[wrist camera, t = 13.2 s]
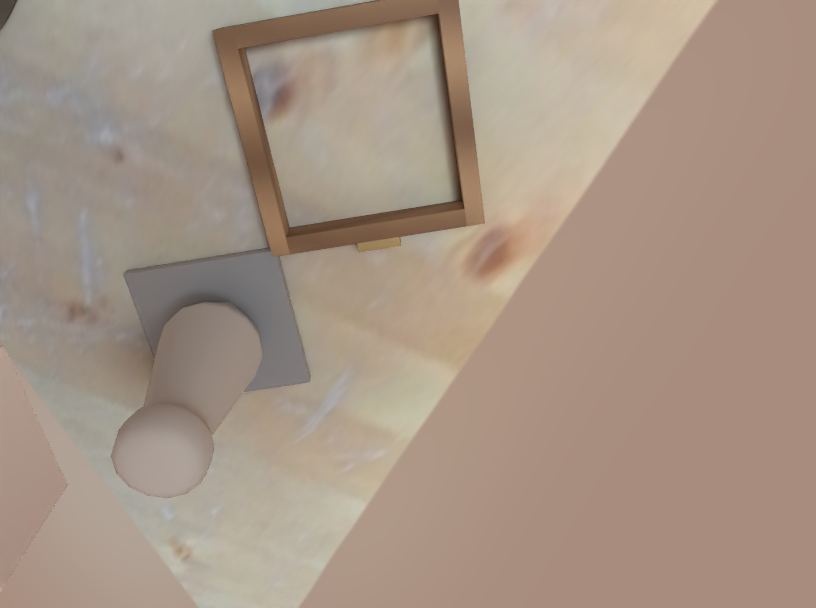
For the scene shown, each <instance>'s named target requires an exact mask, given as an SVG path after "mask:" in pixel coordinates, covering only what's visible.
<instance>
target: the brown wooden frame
mask: <svg viewBox="0 0 816 608" xmlns="http://www.w3.org/2000/svg"><path fill="white" fill-rule="evenodd" d="M434 14H438V21H439V29H440V36H441V44H442V51H443V59H444V67H445V74H446V82H447V89H448V97H449V105H450V112H451V120H452V127H453V135H454V143H455V150H456V158H457V165H458V173H459V181H460V188H461V196H462V200H460V201H454V202H448V203H441V204H435V205H429V206H423V207H416V208H410V209H404V210H398V211H392V212H385V213H379V214H373V215H367V216H360V217H354V218H348V219H342V220H336V221H329V222H323V223H317V224H311V225H304V226H298V227H292V228H289V224H288V220H287V216H286V212H285V208H284V204H283V200H282V196H281V192H280V188H279V184H278V180H277V176H276V172H275V167H274V163H273V159H272V155H271V151H270V147H269V143H268V139H267V135H266V131H265V127H264V123H263V119H262V115H261V111H260V107H259V103H258V99H257V95H256V91H255V87H254V83H253V79H252V75H251V71H250V67H249V63H248V59H247V55H246V51H245V47H251V46H256V45H262V44H268V43H274V42H279V41H285V40H291V39H296V38H302V37H308V36H314V35H319V34H325V33H331V32H336V31H342V30H348V29H354V28H359V27H365V26H371V25H376V24H382V23H388V22H394V21H399V20H405V19H411V18H416V17H422V16H428V15H434ZM213 35H214V39H215V42H216V46H217V50H218V54H219V57H220V61H221V65H222V69H223V72H224V76H225V80H226V84H227V88H228V91H229V95H230V99H231V103H232V106H233V110H234V114H235V118H236V122H237V125H238V129H239V133H240V137H241V140H242V144H243V148H244V152H245V155H246V159H247V163H248V167H249V171H250V174H251V178H252V182H253V186H254V189H255V193H256V197H257V201H258V205H259V208H260V212H261V216H262V220H263V223H264V227H265V231H266V235H267V238H268V242H269V246H270V250H271V254H272V257H275V256H282V255H288V254H294V253H301V252H307V251H313V250H320V249H326V248H332V247H338V246H345V245H351V244H357V246H358V251H359V252H363V251H370V250H376V249H382V248H389V247H395V246H401V238H400V237H402V236H408V235H414V234H420V233H427V232H433V231H439V230H446V229H452V228H458V227H465V226H471V225H477V224H483V223H485V220H484V211H483V203H482V194H481V186H480V178H479V169H478V161H477V152H476V144H475V135H474V127H473V119H472V110H471V102H470V93H469V85H468V76H467V68H466V60H465V51H464V43H463V34H462V26H461V17H460V9H459V1H458V0H376V1H370V2H365V3H359V4H353V5H348V6H342V7H337V8H331V9H325V10H320V11H314V12H308V13H303V14H297V15H291V16H286V17H280V18H274V19H269V20H263V21H257V22H252V23H246V24H240V25H235V26H229V27H223V28H219V29H216V30H213Z"/></svg>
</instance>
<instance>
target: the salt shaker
mask: <svg viewBox="0 0 816 608" xmlns="http://www.w3.org/2000/svg"><path fill="white" fill-rule="evenodd" d="M261 359H262V348H261V342H260V336H259V332H258V330H257V328H256V326H255V324H254V322H253V321H252V320H251V319H250V318H248V317H247V316H246V315H245V314H244V313H243V312H242V311H241V310H239V309H238V308H237V307H236V306H235V305H234V304H233V303H232V302H202V303H198V304H195V305H191V306H187V307H183V308H182V309H181V310H180V311H178V312H177V313H176V314H175V315H174V316H173V317H172V318H171V319H170V320H169V321H168V322H167V323H166V324H165V325H164V328H163V331H162V334H161V337H160V340H159V343H158V347H157V351H156V356H155V360H154V364H153V369H152V373H151V377H150V381H149V386H148V390H147V394H146V398H145V403H144V407H142V408H141V409H139V410H137V411H136V412H135V413H134V414H133V415H132V416H131V417H130V418H129V419H127V420H126V421H125V422H124V424H123V425H122V426H121V428H120V429H119V431H118V434H117V438H116V441H115V444H114V447H113V451H112V454H111V457H112V461H113V464H114V467H115V470H116V473H117V474H118V475H119V476H120V477H121V478H122V479H123V480H124V482H125V483H126V484H127V485H128V486H129V487H131V488H133V489H135V490H137V491H139V492H142V493H144V494H146V495H148V496H156V497H164V498H170V497H174V496H178V495H182V494H186V493H188V492H189V491H190V490H192V489H193V488H194V487H195V486H197V485H198V484H199V483H200V482H201V481H202V480H203V478H204V477H205V475H206V473H207V470H208V467H209V465H210V462H211V459H212V455H213V452H214V444H213V440H212V435H213V433H214V432H215V431H216V429H217V428H218V427H219V425H220V424H221V422H222V421H223V420H224V418H225V417H226V416H227V414H228V413H229V411H230V410H231V409H232V407H233V406H234V405H235V403H236V402H237V400H238V399H239V398H240V396H241V395H242V394H243V392H244V391H245V389H246V388H247V387H248V385H249V384H250V382H251V381H252V380H253V378H254V377H255V375H256V373H257V370H258V367H259V365H260V362H261Z"/></svg>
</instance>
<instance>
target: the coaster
mask: <svg viewBox="0 0 816 608" xmlns="http://www.w3.org/2000/svg"><path fill="white" fill-rule="evenodd" d="M124 277H125V280H126V283H127V285H128V288H129V291H130V293H131V296H132V299H133V301H134V304H135V307H136V310H137V312H138V315H139V318H140V320H141V323H142V326H143V328H144V331H145V334H146V337H147V339H148V342H149V345H150V347H151V350H152V353H153V356H154V358H155V356H156V351H157V347H158V343H159V340H160V337H161V334H162V331H163V328H164V325H165V324H166V323H167V322H168V321H169V320H170V319H171V318H172V317H173V316H174V315H175V314H176V313H177V312H178V311H180V310H181V309H182V308H183V307H187V306H191V305H195V304H198V303H202V302H232V303H233V304H234V305H235V306H236V307H237V308H238V309H239V310H241V311H242V312H243V313H244V314H245V315H246V316H247V317H248V318H250V319H251V320H252V321H253V322H254V324H255V326H256V328H257V330H258V332H259V336H260V342H261V348H262V359H261V362H260V365H259V367H258V370H257V373H256V375H255V377H254V378H253V380H252V381H251V382H250V384H249V385H248V387H247V388H246V389H245V391H244V392H247V391H253V390H260V389H267V388H274V387H280V386H287V385H294V384H300V383H307V382H310V378H311V377H310V373H309V369H308V365H307V361H306V357H305V353H304V350H303V346H302V342H301V338H300V334H299V330H298V327H297V323H296V319H295V315H294V311H293V307H292V304H291V300H290V296H289V292H288V288H287V284H286V281H285V277H284V273H283V269H282V265H281V261H280V257H279V256H275V257H272V254H271V250H270V248H265V249H259V250H253V251H246V252H240V253H234V254H228V255H221V256H215V257H209V258H203V259H196V260H190V261H184V262H177V263H171V264H165V265H159V266H152V267H146V268H140V269H133V270H127V271H126V272H125V273H124Z"/></svg>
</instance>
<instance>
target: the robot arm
mask: <svg viewBox="0 0 816 608" xmlns="http://www.w3.org/2000/svg"><path fill="white" fill-rule="evenodd" d="M15 2H16V0H0V28H1V27H2V25H3V24H4V22H5V21H6V19H7V18H8V16H9V14H10V12H11V11H12V8H13V6H14V4H15ZM67 485H68V484H67V482H66V479H65V477H64V475H63V473H62V471H61V469H60V467H59V465H58V462H57V461H56V458H55V456H54V454H53V451H52V449H51V447H50V445H49V443H48V441H47V439H46V436H45V434H44V432H43V430H42V428H41V426H40V424H39V421H38V419H37V417H36V415H35V413H34V411H33V408H32V406H31V404H30V402H29V400H28V398H27V396H26V394H25V391H24V389H23V387H22V385H21V383H20V380H19V379H18V376H17V374H16V372H15V370H14V368H13V365H12V363H11V361H10V359H9V357H8V355H7V353H6V350H5V348H4V346H0V592H1V590H2V588H3V587H4V585H5V584H6V582H7V581H8V579H9V577H10V576H11V574H12V573H13V571H14V569H15V568H16V566H17V565H18V563H19V562H20V560H21V558H22V557H23V555H24V553H25V552H26V550H27V549H28V547H29V546H30V544H31V542H32V541H33V539H34V538H35V536H36V534H37V533H38V531H39V530H40V528H41V526H42V525H43V523H44V522H45V520H46V519H47V517H48V515H49V514H50V512H51V511H52V509H53V507H54V506H55V504H56V503H57V501H58V500H59V498H60V496H61V495H62V493H63V492H64V490H65V489H66V487H67Z"/></svg>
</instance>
